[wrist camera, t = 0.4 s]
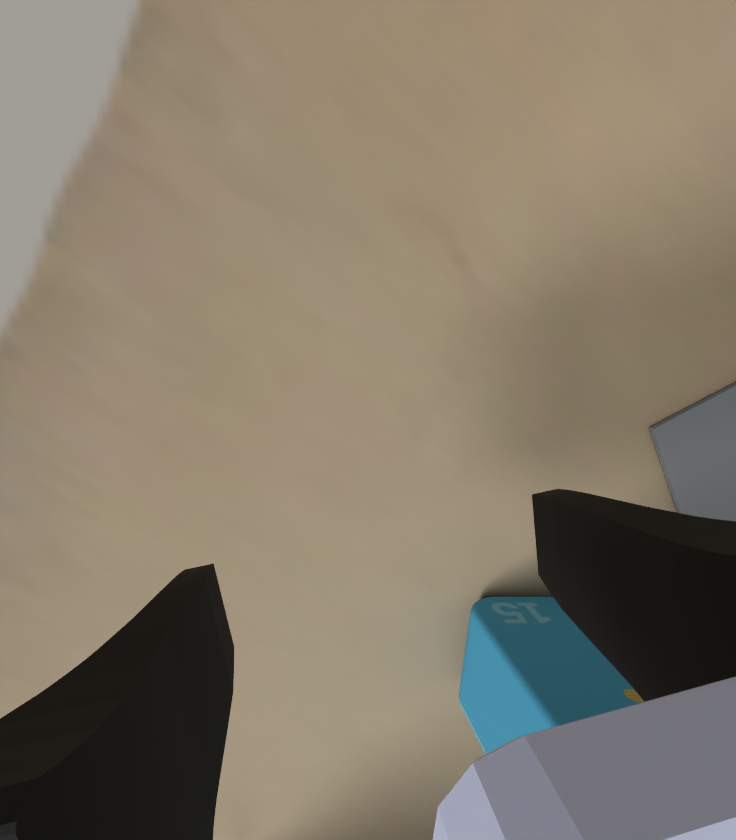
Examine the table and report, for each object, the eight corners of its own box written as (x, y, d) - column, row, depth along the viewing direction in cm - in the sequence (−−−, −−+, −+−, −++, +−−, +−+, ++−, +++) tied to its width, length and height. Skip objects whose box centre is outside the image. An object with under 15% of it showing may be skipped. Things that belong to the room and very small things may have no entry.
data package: (689, 595, 26) (1021, 808, 15) (672, 678, 27) (975, 944, 15) (460, 593, 24) (639, 846, 12) (447, 684, 25) (606, 1003, 13)
